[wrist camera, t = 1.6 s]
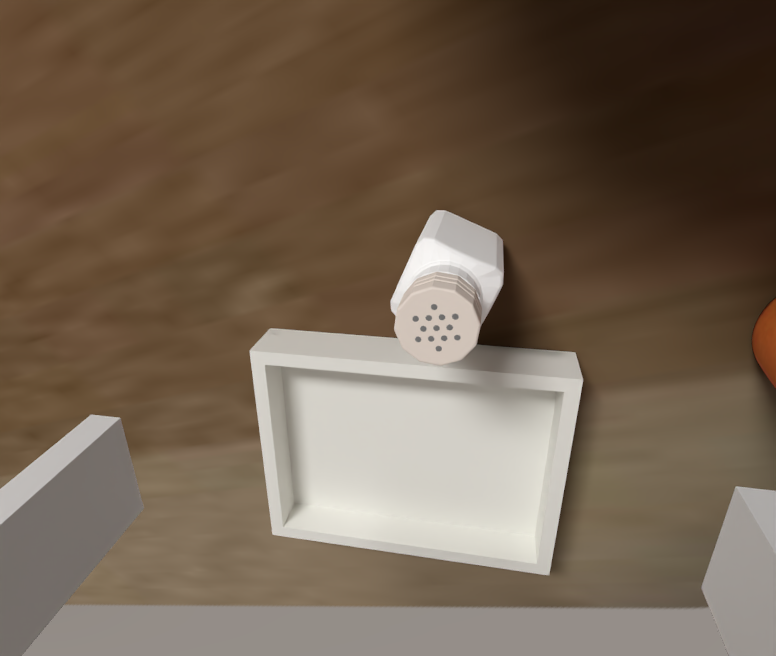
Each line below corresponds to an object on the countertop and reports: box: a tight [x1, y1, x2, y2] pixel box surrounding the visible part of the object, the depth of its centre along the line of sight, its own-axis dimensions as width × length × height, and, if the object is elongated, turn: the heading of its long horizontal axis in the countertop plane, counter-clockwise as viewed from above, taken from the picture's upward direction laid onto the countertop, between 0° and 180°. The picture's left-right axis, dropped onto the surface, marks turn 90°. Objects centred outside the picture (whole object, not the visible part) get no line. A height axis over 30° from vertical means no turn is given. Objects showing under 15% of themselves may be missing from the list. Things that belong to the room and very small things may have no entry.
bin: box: [250, 328, 583, 575], centre depth 32 cm, size 14×18×3 cm
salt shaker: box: [391, 210, 504, 366], centre depth 24 cm, size 4×4×10 cm
